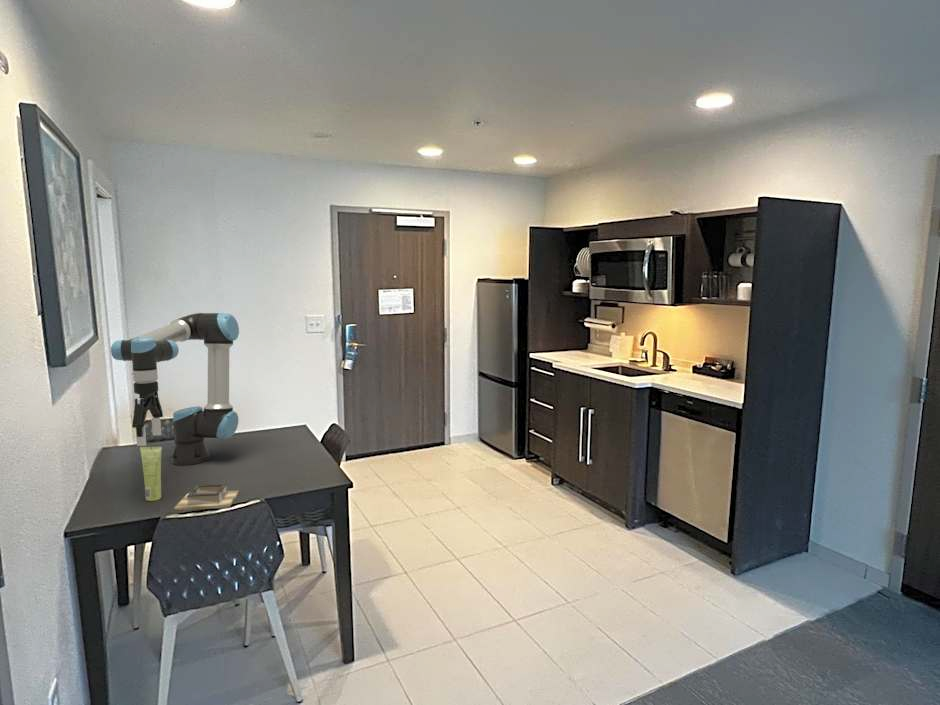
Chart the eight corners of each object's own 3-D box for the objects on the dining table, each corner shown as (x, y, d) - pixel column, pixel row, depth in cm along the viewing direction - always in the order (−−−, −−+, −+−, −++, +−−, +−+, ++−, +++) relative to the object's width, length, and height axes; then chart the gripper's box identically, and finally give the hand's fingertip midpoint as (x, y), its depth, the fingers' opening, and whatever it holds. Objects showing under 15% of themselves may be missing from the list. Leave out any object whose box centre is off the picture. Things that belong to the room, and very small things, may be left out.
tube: (160, 495, 214) (156, 443, 212) (165, 498, 211) (161, 446, 208) (143, 499, 210) (139, 447, 208) (148, 503, 207) (144, 449, 204)
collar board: (188, 495, 214) (187, 484, 213) (239, 493, 216) (238, 481, 216) (174, 510, 200) (173, 498, 200) (229, 507, 203) (228, 495, 202)
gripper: (148, 376, 216) (152, 431, 219) (118, 388, 192) (122, 450, 194) (170, 375, 218) (173, 430, 220) (142, 387, 193) (146, 449, 196)
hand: (149, 440), depth 207 cm, fingers open, 13 cm apart
